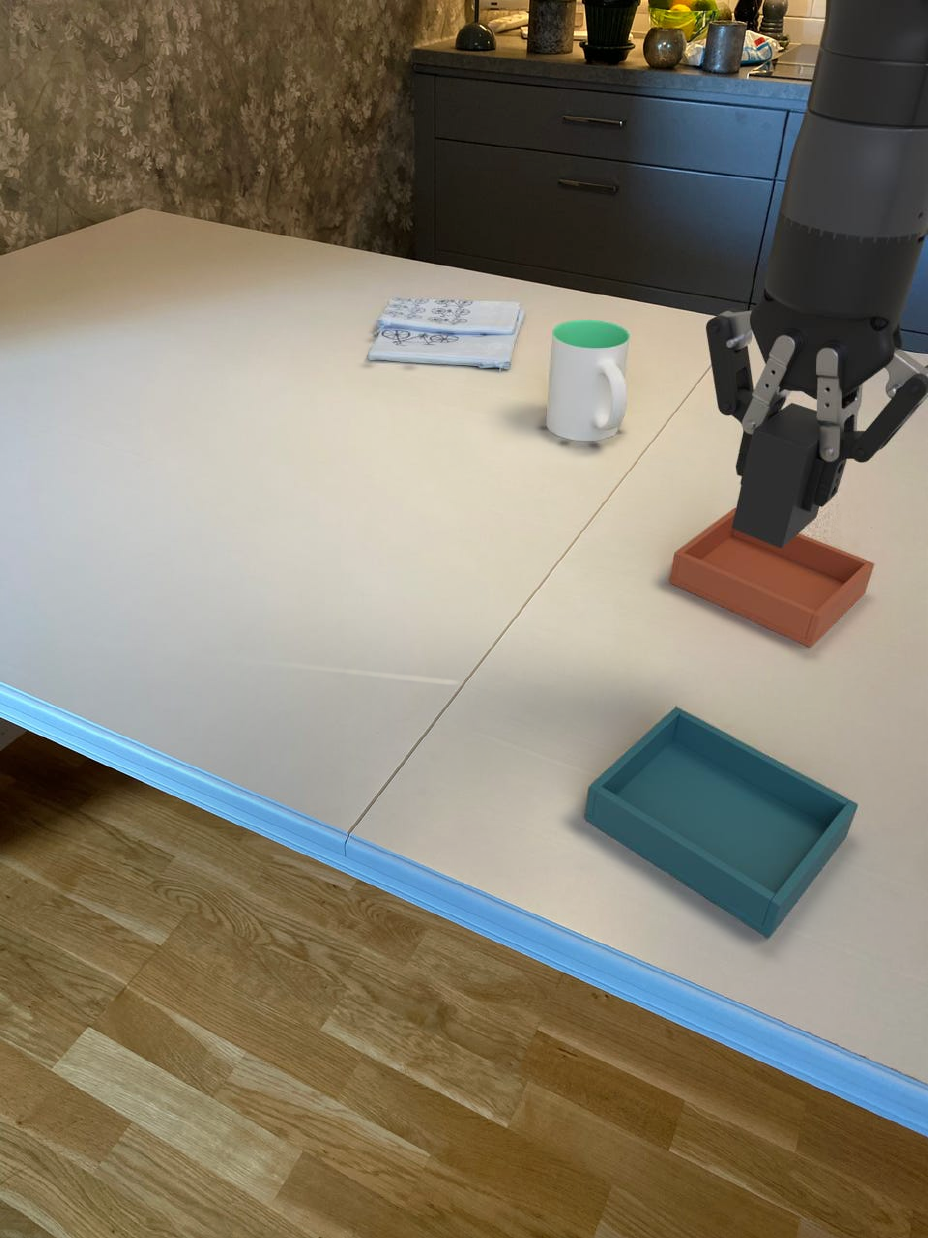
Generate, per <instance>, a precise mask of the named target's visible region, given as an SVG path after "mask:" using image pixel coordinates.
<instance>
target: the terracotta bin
mask: <svg viewBox="0 0 928 1238" xmlns="http://www.w3.org/2000/svg"><path fill="white" fill-rule="evenodd" d="M735 511H736V507H734V508H732V509H731V510H729V511H728V512H727V513H725V514H724V515H723V516H722V517H720V518H719V519H717V520H716V521H715V522H714V523H712V524H710V525H709V526H708V527H706V528H705V529H704V530H703V531H701V532H700V533H699V534H697V535H696V536H694V537H693V538H692V539H691V540H689V541H688V542H687V543H685V544H684V545H682V546H681V547H680V548H679V549H677V550H676V551H674V553H673V558H672V563H671V570H670V574H669V575H670V576H669V581H668V582H669V584H672V585H675V586H676V587H678V588H681V589H682V590H684V591H686V592H689V593H691V594H693V595H695V596H698V597H700V598H701V599H704V600H707V601H708V602H711V603H713V604H715V605H717V606H719V607H721V608H724V609H726V610H728V611H730V612H732V613H735V614H736V615H739V616H741V617H743V618H745V619H747V620H749V621H752V622H753V623H756V624H758V625H760V626H762V627H765V628H767V629H769V630H771V631H773V632H775V633H777V634H780V635H782V636H784V637H786V638H788V639H791V640H793V641H795V642H797V643H799V644H801V645H804V646H806V647H808V648H812V647H813V646H814V645H815V644H816V643H817V642H818V641H819V640H820V639H821V638H822V637H823V636H824V635H825V634H826V633H827V632H828V631H829V630H830V629H831V628H832V627H833V626H834V625H835V624H836V623H837V622H838V621H839V620H840V619H841V618H842V617H844V615H845V614H846V613H847V612H848V611H849V610H850V609H851V608H852V607H853V606H854V605H855V604H856V603H857V602H858V601H859V600H860V599H861V598H862V597H863V596H864V595H865V594H866V591H867V589H868V585H869V582H870V579H871V576H872V574H873V570H874V566H875V563H874V562H873V561H870V560H867V559H865V558H863V557H860V556H857V555H854V554H852V553H850V552H847V551H846V550H842V549H840V548H838V547H834V546H832V545H829V544H828V543H825V542H822V541H819V540H817V539H814V538H813V537H810V536H807V535H806V534H805V535H804V534H802V533H801V532H800V533H798V534H797V535H796V536H795V537H794V538H793V539H792V540H791V541H789V542H788V543H787V544H786V545H785V546H784V547H783V548H778V547H776V546H773V545H771V544H769V543H766V542H764V541H761V540H759V539H756V538H754V537H752V536H749V535H747V534H744V533H742V532H739V531H737V530H735V529H732V524H733V520H734V515H735Z"/></svg>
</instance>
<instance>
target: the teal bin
mask: <svg viewBox="0 0 928 1238" xmlns="http://www.w3.org/2000/svg"><path fill="white" fill-rule="evenodd" d="M858 807H859V803H857V802H855V801H853V800H852V799H849V798H847V797H846V796H844V795H842V794H840V793H838V792H836V791H835V790H833V789H831V788H829V787H827V786H826V785H823V784H822V783H820V782H818V781H816V780H814V779H813V778H811V777H808V776H807V775H805V774H803V773H801V772H799V771H797V770H795V769H794V768H792V767H791V766H788V765H787V764H784V763H783V762H781V761H779V760H777V759H775V758H773V757H771V756H770V755H768V754H766V753H764V752H762V751H760V750H759V749H757V748H754V747H753V746H751V745H749V744H748V743H746V742H743V741H742V740H740V739H738V738H736V737H734V736H732V735H731V734H729V733H727V732H725V731H723V730H721V729H720V728H718V727H716V726H714V725H712V724H711V723H708V722H706V721H705V720H703V719H701V718H699V717H697V716H696V715H693V714H692V713H690V712H688V711H686V710H684V709H682V708H680V706H679V707H678V706H675V707H673V708H672V709H671V710H670V711H669V712H668V713H667V714H666V715H664V717H663V718H661V719H660V720H659V721H658V722H657V723H656V724H655V725H654V726H653V727H652V728H650V729H649V730H648V732H646V733H645V734H644V735H643V736H642V737H641V738H640V739H639V740H637V741H636V742H635V743H634V744H633V745H632V746H631V747H629V749H628V750H627V751H626V752H625V753H623V754H622V755H621V756H620V757H619V758H618V759H617V760H616V761H615V762H614V763H613V764H611V765H610V766H609V767H608V768H607V769H606V770H605V771H604V772H603V773H602V774H600V776H598V777H597V778H596V779H595V780H594V781H593V782H591V784H590V785H589V786H588V788H587V796H586V802H585V809H584V810H585V811H584V818H583V819H584V820H585V821H586V822H588V823H589V824H591V825H592V826H594V827H595V828H597V829H599V830H600V831H601V832H603V833H605V834H607V835H608V836H609V837H611V838H612V839H613V840H616V841H617V842H619V843H620V844H622V845H623V846H625V847H627V848H628V849H630V850H631V851H632V852H634V853H636V854H637V855H638V856H640V857H642V858H643V859H646V861H648V862H650V863H651V864H653V865H654V866H656V867H658V868H659V869H661V870H662V871H664V872H665V873H667V874H668V875H669V876H671V877H673V878H674V879H676V880H677V881H679V882H680V883H683V884H684V886H687V887H688V888H690V889H691V890H693V891H694V892H696V893H697V894H699V895H701V896H702V897H704V898H705V899H707V900H708V901H710V902H712V903H713V904H715V905H716V906H717V907H719V908H721V909H722V910H723V911H725V912H727V913H729V914H730V915H732V916H733V917H735V918H736V919H737V920H739V921H741V922H742V923H744V924H745V925H747V926H748V927H750V928H752V929H753V930H755V931H756V932H758V933H759V934H760V935H763V936H764V937H766V938H767V939H770V938H771V937H772V936H773V934H774V933H775V932H776V931H777V929H778V928H779V927H780V925H781V924H782V922H783V921H784V920H785V918H786V917H787V916H788V915H789V914H790V912H791V911H792V909H793V908H794V907H795V906H796V904H797V903H798V902H799V900H800V899H801V897H802V896H803V895H804V893H805V892H806V891H807V890H808V888H809V887H810V885H811V884H812V883H813V882H814V880H815V879H816V877H817V876H818V875H819V874H820V872H821V871H822V870H823V869H824V867H825V866H826V865H827V863H828V862H829V861H830V859H831V858H832V856H833V855H834V854H835V853H836V851H837V850H838V849H839V847H840V846H841V845H842V843H843V842H844V841H845V839H846V838H847V837H848V834H849V831H850V828H851V826H852V824H853V820H854V818H855V815H856V813H857V810H858Z"/></svg>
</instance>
